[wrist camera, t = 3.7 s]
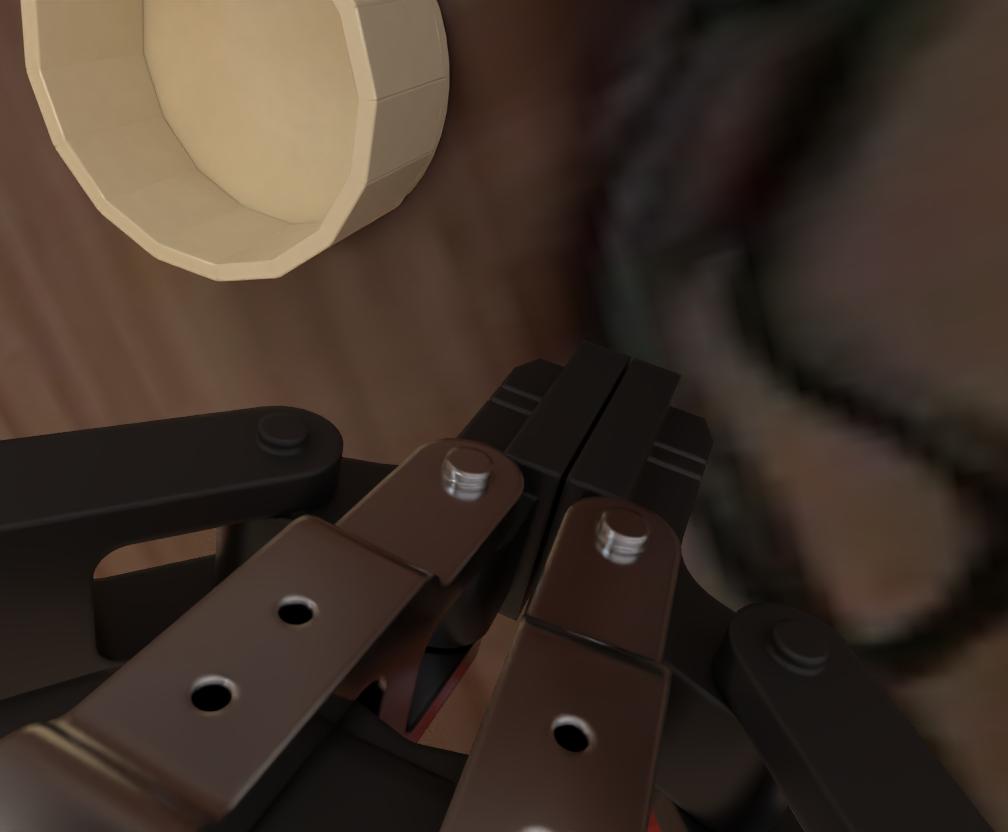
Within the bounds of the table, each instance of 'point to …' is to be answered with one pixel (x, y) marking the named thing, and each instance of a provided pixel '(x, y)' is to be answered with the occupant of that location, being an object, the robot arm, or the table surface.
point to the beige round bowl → (240, 119)
